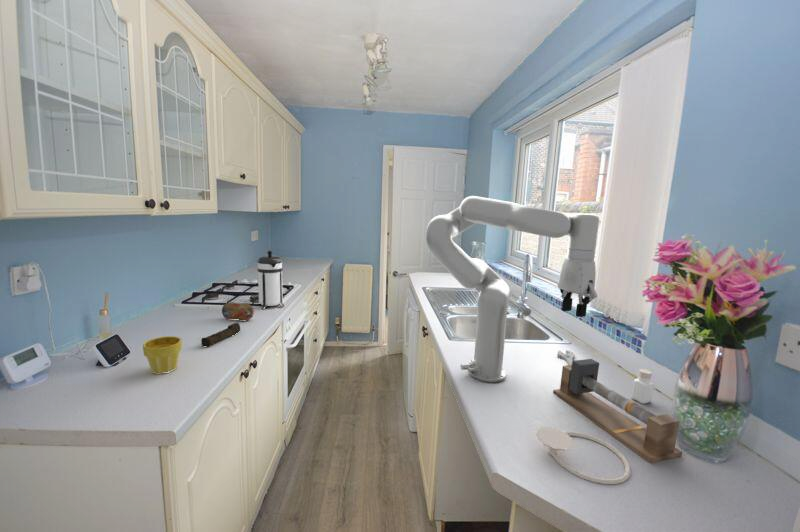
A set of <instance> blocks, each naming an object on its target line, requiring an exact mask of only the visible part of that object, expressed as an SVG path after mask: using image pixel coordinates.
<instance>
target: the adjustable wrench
mask: <svg viewBox="0 0 800 532" xmlns="http://www.w3.org/2000/svg"><path fill="white" fill-rule="evenodd" d="M575 356H576V355H575V353H574V352H573V351H571V350H566V351H565V353H564V352H563V351H561V350H557V358H560V359H562V360H563V361H565V362H566V364H567V365H572V361H574V359H575V358H576V357H575Z"/></svg>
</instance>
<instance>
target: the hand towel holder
mask: <svg viewBox="0 0 800 532" xmlns="http://www.w3.org/2000/svg"><path fill="white" fill-rule="evenodd" d="M535 434H536V435H535V436H536V437H537V439H538V440H539V441H540V442H541V443H542V444H543V445H544V446H546V447H547V448H548V449H547V453H548V454H549V456H551V457H553V458H554V460H555V462H557V463H558V464H559V465H560V466H561V467H562V468H564V469H565V470H566V471H568V472H570V473H571V474H573V475H575V476H576V477H579V478H581V479H584V480H586V481H589V482H592V483H595V484H599V485H600V484H601V485H617V484H622V483H624V482H625V481H627V480H628V479H629V478H630V476H631V465H630V463H629V462H628V460H627V459H626V457H625V456H624V454H623V453H621V451H620V450H619V449H617V448H616V447H614V446H613V445H612V444H610V443H609V442H606V440H604V439H601V438H598V437H596V436H594V435H590V434H587V433H583V432H579V431H563V430H561V429H558V428H556V427H548V426H547V427H546V426H542V427H541V428H538V429H536V433H535ZM572 437H578V438H583V439H586V440H589V441H594V442H595V443H598V444H600V445H602V446H604V447H606V448H607V449H609V450H610V451H611V452H613V453H614V454H616V455H617V456H618V457H619V459H620V460H621V461H622V462H623V464H624V468H625V469H624V472H623V475H622V476H620V477H617V478H613V479H612V478H611V479H610V478H601V477H596V476H591V475H588V474H586V473H583V472H581V471H579V470H577V469H575V468H573V467H571V466H570V465H568V464H567V463H566V462H564V461H563V459H561V458H560V457H559V456H558V451H566V450H568V449H570V448H572V447H574V440H573V438H572Z"/></svg>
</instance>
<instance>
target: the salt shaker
mask: <svg viewBox="0 0 800 532" xmlns="http://www.w3.org/2000/svg"><path fill="white" fill-rule="evenodd" d="M652 374H653V372H652V371H650V370H648V369H645V368H639V369H638V374H637V375H638V377H637V378H635V379H634V380H633V384H632V390H631V395H630V396H631V399H633V400H635V401H637V402H638V403H641V404H643V405H644V404H647V403H648V404H649V403H650V402H652V397H653V396H652V395H653V391H654V383H653V382H652V381H651V379H652Z"/></svg>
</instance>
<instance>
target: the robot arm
mask: <svg viewBox="0 0 800 532" xmlns="http://www.w3.org/2000/svg"><path fill="white" fill-rule="evenodd" d="M599 223H600V217H599V215H598V214H594V213H574V214H573V213H568V212H567V213H566V212H562V211H555V210H549V209H543V208H537V207H532V206H527V205H523V204H520V203H516V202H513V201H507V200H506V201H505V200H500V199H494V198H488V197H484V196H483V197H482V196H476V195H470V196H467V197H465V198H464V199H463V200H462V201H461V202H460V205H459V206H458V207H456V208H455V209H454V210H452V211H450V212H449V213H446V214H439V215H436V216H434V217H433V218H432V219H430V221H429V222H428V224H427V226H426V230H425V243H426V246H427V249H428V251H429V253H431V255H432V256H433V257H434V258H435V260H437V261H438V263H440V264H441V265H442V266H443V267H444V268H445V270H446V271H448V273H449V274H451V276H452V277H454V279H455V280H456V281H457V282H458V283H459V284H460V285H461V286H462V287H463V288H465V289H468V290H472V289H475V291H477V292H478V296H477V301H476V303H477V304H476V309H477V310H476V311H477V312H476V313H477V314H476V328H475V329H476V330H475V343H474V344H475V345H474V354H473V355H474V356H473V359H470V362H468V363H461V364H460V366H459V367H460V370H461V371H465V370H467V373H468V374H469V375H470V376H471V377H472V378H474V379H476V380H478V381H482V382H486V383H500V382H503V381H504V380H505V379H507V372H506V370H504V369H503V365H504V364H503V361H504V351H505V350H504V349H505V340H506V330H507V317H508V308H509V307H508V306H509V300H510V297H511V289H510V287H509V285H508V284H507V282H505V280H504V279H503V278H502V277H501V276H500V275H498V273H497V272H496V271H495V270H494V269H492V268H491V266H490V265H488V264H487V263H486V262H485V261H484V260H482V259H480V258H478V257H475V258H474V257H470V256H469V254H467V253H466V252H465V251H464V250H463V248H461V247H460V246H459V245H458V244H457V243H455V242H454V241H453V238H455V237H457V236H458V235H460V234H462V233H463V232H465V231H467V230H469V229H470V228H472V227H473V226H475V225H478V224H480V225H485V226H490V227H496V228H499V229H506V230H510V231H517V232H522V233H527V234H533V235H538V236H543V237H548V238H553V239H555V238H556V239H560V238H562V237H565V236H568V240H567V241H568V242H567V249H566V257H564V259H563V262H562V264H561V268H560V272H559V278H558V283H557V287H558V289H559V292H560V293H561V298H562V302H561V303H562V304H561V311H562V312H571V311H572V307H573V297H572V296H573V294H576V295H578V296H577V297H578V303H577V304H576V310H575V317H576V318H583V317H586V316H587V309H588V305H589V304H590V302H592V301H593V300H594V299H596V298H598V294H597V292H596V290H595V287H596V273H597V270H596V261H595V257H596V256H595V255H596V248H597V241H598V234H599V225H600V224H599Z"/></svg>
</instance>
